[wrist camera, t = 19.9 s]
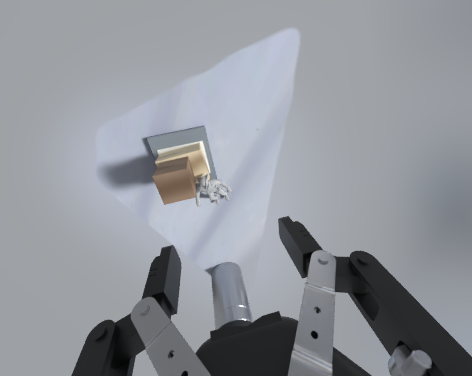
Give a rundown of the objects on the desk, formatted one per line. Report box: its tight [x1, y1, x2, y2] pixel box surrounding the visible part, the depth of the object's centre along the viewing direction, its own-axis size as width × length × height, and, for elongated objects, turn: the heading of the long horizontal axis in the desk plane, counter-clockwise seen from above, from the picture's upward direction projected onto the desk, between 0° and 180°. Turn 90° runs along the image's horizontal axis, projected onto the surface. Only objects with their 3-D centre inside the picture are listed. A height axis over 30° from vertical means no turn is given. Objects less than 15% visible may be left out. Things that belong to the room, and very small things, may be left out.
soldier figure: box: [196, 174, 232, 206], centre depth 38 cm, size 8×5×12 cm
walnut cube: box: [152, 156, 196, 205], centre depth 31 cm, size 5×5×6 cm
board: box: [147, 126, 217, 186], centre depth 38 cm, size 12×11×1 cm
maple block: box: [155, 143, 210, 183], centre depth 35 cm, size 6×8×5 cm
